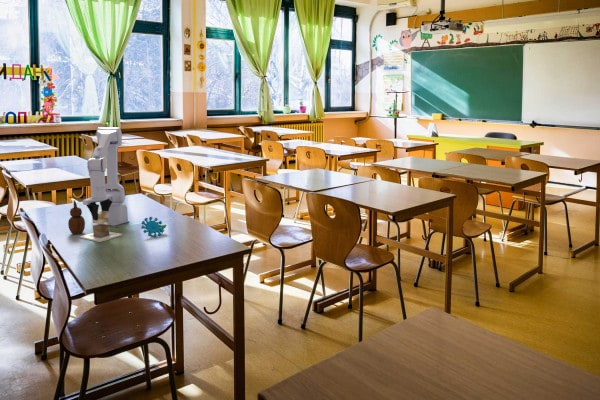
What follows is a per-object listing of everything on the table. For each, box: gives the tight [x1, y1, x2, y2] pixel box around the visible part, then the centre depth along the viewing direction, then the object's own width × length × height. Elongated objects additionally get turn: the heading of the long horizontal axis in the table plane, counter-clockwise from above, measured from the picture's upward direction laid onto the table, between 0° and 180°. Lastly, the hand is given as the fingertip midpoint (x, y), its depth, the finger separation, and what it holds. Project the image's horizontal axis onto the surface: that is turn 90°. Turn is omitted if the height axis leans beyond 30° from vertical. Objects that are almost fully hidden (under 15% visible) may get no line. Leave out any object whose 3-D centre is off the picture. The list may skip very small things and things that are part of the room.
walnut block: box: [92, 223, 110, 237], centre depth 234 cm, size 4×4×4 cm
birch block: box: [91, 209, 109, 224], centre depth 233 cm, size 4×4×4 cm
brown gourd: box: [67, 200, 86, 235], centre depth 238 cm, size 7×6×15 cm
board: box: [79, 231, 123, 243], centre depth 235 cm, size 12×12×1 cm
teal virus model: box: [140, 216, 167, 238], centre depth 238 cm, size 11×6×10 cm
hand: (100, 218), depth 233 cm, fingers closed on birch block, 4 cm apart
